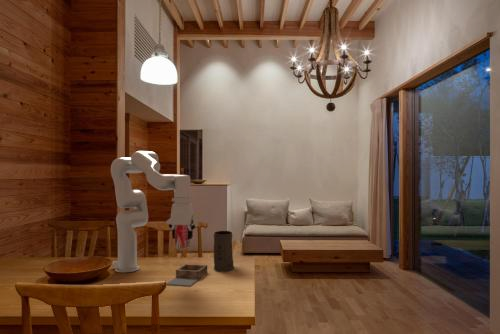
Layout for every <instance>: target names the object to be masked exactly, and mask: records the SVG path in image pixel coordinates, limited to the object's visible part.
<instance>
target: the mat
mask: <svg viewBox="0 0 500 334" xmlns="http://www.w3.org/2000/svg"><path fill="white" fill-rule="evenodd" d="M198 281H199V280H198V279H186V278H176V277H174V278H173V279H171V280H169V281H168V282H167V283H166V284H167V285H166V286H174V287H175V286H177V287H187V288H188V287H189V288H191V287H192V286H193V285H194V284H195V283H197V282H198Z"/></svg>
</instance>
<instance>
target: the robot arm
mask: <svg viewBox="0 0 500 334" xmlns="http://www.w3.org/2000/svg"><path fill="white" fill-rule="evenodd" d="M160 170H161V164H160V162H159V156H158V153H156V152H154V151H149V150H138V151H135V152H133V153H132V155H131V156H130V157H128V156H127V157H125V156H124V157H123V156H122V157H117V158H115V159H114V160H112V163H111V166H110V175H111V178H112V180H113V184H114V191H115V199H116V205H117V206H118V208H121V209H126V210H123V211H120V212H118V213H117V215H116V217H115V221H116V222H115V223H116V229H117V260H113V261H112V263H111V266H115V268H114V272H116V273H132V272H136V271H139V270H140V268H141V267H140V265H138V263H137V260H138V244H137V243H138V239H137V238H138V237H137V232H136V231H135V230H134V228H138V227H144V226H146V224H147V223H148V221H149V212H148V205H147V204H148V203H147V198H146V195H145V193H144V192H143V191H142V190H140V189H133V188H132V183H131V180H130V178H129V176H127V174H142V173H144V174H145V177H146V181H147V183H148V184H149V185H150V186H152V187H153V188H155V189H156V190H158V191H173V193H174V194H173V198H171V202H173V203H172V206H171V210H170V217H169V218H168V219H167V220H166V221H165V222H166V224H167V226H168V227H169V228H170V230H171V237H172V239H174V240H175V226H176V225H179V224H181V225H183V226H187V227H188V229H189V231H188V239H190V240H191V239H192V238H193V231H194V229H196V227H197V226H198V225H199V221H198V220H197V219H196V218H195V217H194V208H193V204H192V203H191V176H190V175H188V174H177V173H176V174H175V173H173V174H171V173H169V174H164V173H163V174H162V173H160ZM129 208H133V209H129ZM128 209H129V210H128Z"/></svg>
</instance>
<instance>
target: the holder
mask: <svg viewBox="0 0 500 334" xmlns="http://www.w3.org/2000/svg"><path fill="white" fill-rule="evenodd" d="M207 274H208V265H207V264H192V263H191V264H190V263H185V264H183V265H182V266H180V267H179V268H177V269H176V270H175V278H186V279H198V281H199V280H201V279H202V278H203V277H204V276H206V275H207Z"/></svg>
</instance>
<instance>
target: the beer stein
mask: <svg viewBox="0 0 500 334" xmlns="http://www.w3.org/2000/svg"><path fill="white" fill-rule="evenodd" d="M233 256H234V255H233V232H232V231H230V230H218V231H215V232H214V233H213V264H214V266H213V269H214V271H217V272H221V271H222V272H223V273H224V272H230V271H232V270H233V269H234V268H235V267H234V258H233Z"/></svg>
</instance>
